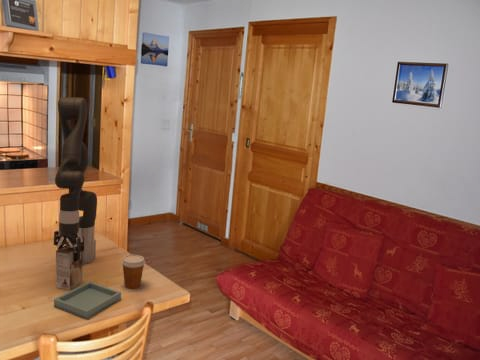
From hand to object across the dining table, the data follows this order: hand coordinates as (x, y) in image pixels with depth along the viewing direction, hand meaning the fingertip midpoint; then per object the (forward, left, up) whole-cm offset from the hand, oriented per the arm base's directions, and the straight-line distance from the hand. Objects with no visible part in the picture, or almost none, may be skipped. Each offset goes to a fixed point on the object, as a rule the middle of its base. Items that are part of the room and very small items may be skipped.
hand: (68, 258), depth 178 cm
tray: (+7, +17, -11) cm, 22 cm away
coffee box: (0, 0, -12) cm, 12 cm away
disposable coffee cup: (-14, +21, -12) cm, 28 cm away
